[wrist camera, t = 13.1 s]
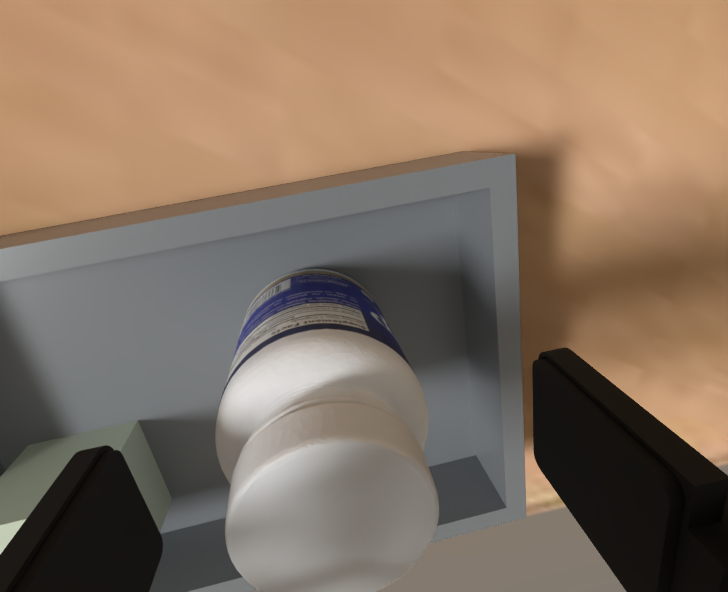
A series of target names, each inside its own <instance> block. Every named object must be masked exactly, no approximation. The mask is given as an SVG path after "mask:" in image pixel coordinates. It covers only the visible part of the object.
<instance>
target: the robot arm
mask: <svg viewBox="0 0 728 592" xmlns="http://www.w3.org/2000/svg"><path fill="white" fill-rule="evenodd" d="M532 368H533V438H534V456H535V459H536V462H537V464H538V466H539V468H540V470H541V471H542V472H543V474H544V475H545V477H546V478H547V479H548V481H549V482H550V484H551V485H552V487H553V488H554V489H555V491H556V492H557V494H558V495H559V496H560V498H561V499H562V501H563V502H564V504H565V505H566V506H567V508H568V509H569V510H570V512H571V513H572V515H573V516H574V518H575V519H576V521H577V522H578V523H579V525H580V526H581V527H582V529H583V530H584V532H585V533H586V534H587V536H588V538H589V539H590V540H591V542H592V543H593V545H594V546H595V547H596V549H597V550H598V552H599V553H600V555H601V556H602V557H603V559H604V560H605V562H606V563H607V564H608V565H609V567H610V568H611V570H612V572H613V573H614V574H615V576H616V577H617V579H618V580H619V581H620V583H621V584H622V586H623V587H624V588H625V590H626V591H627V592H728V476H727V475H726V474H725V473H724V472H722V471H721V470H720V469H719V468H718V467H716V466H715V465H714V464H713V463H711V462H710V461H709V460H708V459H706V458H705V457H704V456H703V455H701V454H700V453H699V452H698V451H696V450H695V449H694V448H693V447H691V446H690V445H689V444H688V443H686V442H685V441H684V440H683V439H681V438H680V437H679V436H678V435H676V434H675V433H674V432H673V431H671V430H670V429H669V428H668V427H666V426H665V425H664V424H663V423H661V422H660V421H659V420H658V419H656V418H655V417H654V416H653V415H651V414H650V413H649V412H648V411H646V410H645V409H644V408H643V407H641V406H640V405H639V404H638V403H636V402H635V401H634V400H633V399H631V398H630V397H629V396H628V395H626V394H625V393H624V392H623V391H621V390H620V389H619V388H618V387H616V386H615V385H614V384H613V383H611V382H610V381H609V380H608V379H606V378H605V377H604V376H603V375H601V374H600V373H599V372H598V371H596V370H595V369H594V368H593V367H591V366H590V365H589V364H588V363H586V362H585V361H584V360H583V359H581V358H580V357H579V356H578V355H576V354H575V353H574V352H573V351H571V350H570V349H568V348H560V349H555V350H551V351H546V352H542V353H540V355H539V359H538V360H535V361H534V362H533V367H532ZM162 552H163V540H162V536H161V534H160V532H159V530H158V528H157V525H156V523H155V521H154V519H153V517H152V515H151V513H150V511H149V509H148V507H147V505H146V502H145V500H144V498H143V496H142V494H141V492H140V490H139V488H138V486H137V484H136V481H135V479H134V477H133V475H132V473H131V471H130V469H129V467H128V465H127V463H126V461H125V458H124V456H123V454H122V453H121V452H120V451H119V450H114V449H113V448H112V447H110V446H108V445H105V446H100V447H95V448H90V449H86V450H81V451H78V452H76V453H75V454H74V455H73V457H72V458H71V459H70V461H69V462H68V463H67V465H66V466H65V467H64V469H63V470H62V471H61V473H60V474H59V476H58V477H57V478H56V480H55V481H54V482H53V484H52V485H51V486H50V488H49V489H48V491H47V492H46V493H45V495H44V496H43V497H42V499H41V500H40V501H39V503H38V504H37V505H36V507H35V508H34V510H33V511H32V512H31V514H30V515H29V516H28V518H27V519H26V520H25V522H24V523H23V524H22V526H21V527H20V529H19V530H18V531H17V533H16V534H15V535H14V537H13V538H12V539H11V541H10V542H9V543H8V545H7V546H6V548H5V549H4V550H3V552H2V553H1V554H0V592H149V591H150V588H151V585H152V582H153V579H154V576H155V573H156V570H157V568H158V565H159V562H160V559H161V556H162Z"/></svg>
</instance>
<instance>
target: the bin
mask: <svg viewBox="0 0 728 592" xmlns="http://www.w3.org/2000/svg"><path fill="white" fill-rule="evenodd" d="M305 269H324V270H330V271H335V272H338V273H341V274H344V275H346V276H348V277H350V278H351V279H353V280H355V281H356V282H358V283H359V284H360V285H361V286H363V287H364V288H365V289H366V290H367V291H368V292H369V294H370V295H371V296H372V297H373V299H374V300H375V302H376V304H377V305H378V307H379V309H380V311H381V313H382V314H383V316H384V318H385V320H386V322H387V323H388V325H389V327H390V329H391V331H392V333H393V335H394V336H395V338H396V340H397V342H398V344H399V346H400V347H401V349H402V351H403V353H404V355H405V357H406V359H407V360H408V362H409V364H410V366H411V367H412V369H413V371H414V373H415V375H416V377H417V379H418V381H419V383H420V386H421V388H422V390H423V394H424V397H425V400H426V404H427V410H428V433H427V438H426V443H425V447H424V450H423V453H424V455H425V459H426V462H427V465H428V467H429V470H430V473H431V476H432V478H433V481H434V484H435V487H436V489H437V494H438V500H439V519H438V524H437V528H436V532H435V534H434V537H433V539H432V541H431V543H433V542H437V541H440V540H444V539H448V538H452V537H455V536H459V535H463V534H467V533H470V532H474V531H478V530H482V529H485V528H489V527H493V526H497V525H500V524H504V523H508V522H512V521H515V520H519V519H523V518H526V487H525V454H524V420H523V387H522V354H521V320H520V287H519V253H518V220H517V187H516V154H513V153H487V152H457V153H452V154H446V155H441V156H435V157H430V158H424V159H419V160H413V161H408V162H402V163H397V164H391V165H386V166H381V167H375V168H370V169H364V170H359V171H353V172H348V173H342V174H337V175H331V176H326V177H320V178H315V179H309V180H304V181H298V182H293V183H287V184H282V185H277V186H271V187H266V188H260V189H255V190H249V191H244V192H238V193H233V194H227V195H222V196H216V197H211V198H205V199H200V200H194V201H189V202H184V203H178V204H173V205H167V206H162V207H156V208H151V209H145V210H140V211H134V212H129V213H123V214H118V215H112V216H107V217H101V218H96V219H91V220H85V221H80V222H74V223H69V224H63V225H58V226H52V227H47V228H41V229H36V230H30V231H25V232H19V233H14V234H8V235H3V236H0V477H1V475H2V474H3V473H4V472H5V471H6V470H7V469H8V468H9V466H10V465H11V464H12V463H13V462H14V461H15V460H16V459H17V457H18V456H19V455H20V454H21V453H22V452H23V451H24V450H25V448H26V447H27V446H28V445H31V444H35V443H40V442H44V441H48V440H53V439H57V438H62V437H66V436H71V435H75V434H79V433H84V432H88V431H93V430H97V429H102V428H106V427H111V426H115V425H119V424H124V423H128V422H133V421H137V420H138V422H139V424H140V426H141V429H142V431H143V433H144V436H145V438H146V440H147V442H148V445H149V447H150V449H151V452H152V454H153V456H154V459H155V461H156V463H157V465H158V468H159V470H160V472H161V475H162V477H163V479H164V481H165V484H166V486H167V488H168V491H169V493H170V495H171V498H172V499H171V502H170V505H169V508H168V511H167V514H166V517H165V520H164V522H163V525H162V528H161V531H160V534H161V536H162V540H163V552H162V556H161V559H160V562H159V565H158V568H157V570H156V573H155V576H154V579H153V582H152V585H151V588H150V591H149V592H249V591H252V590H256V588H254V587H253V586H252V585H251V584H249V583H248V582H247V581H246V580H245V579H244V578H243V577H242V575H241V574H240V573H239V572H238V571H237V570H236V568H235V566H234V564H233V563H232V561H231V559H230V556H229V553H228V551H227V546H226V539H225V522H226V514H227V506H228V499H229V492H230V486H231V485H230V483H229V481H228V480H227V478H226V476H225V474H224V473H223V471H222V469H221V466H220V463H219V459H218V456H217V450H216V442H215V431H216V421H217V416H218V411H219V405H220V401H221V397H222V394H223V391H224V388H225V385H226V382H227V378H228V375H229V372H230V368H231V365H232V362H233V358H234V355H235V351H236V347H237V344H238V340H239V336H240V332H241V328H242V325H243V321H244V318H245V316H246V313H247V310H248V308H249V306H250V305H251V303H252V302H253V300H254V299H255V297H256V296H257V295H258V294H259V293H260V292H261V291H262V290H263V289H264V288H265V287H266V286H267V285H269V284H270V283H271V282H273V281H274V280H276V279H278V278H279V277H281V276H284V275H286V274H288V273H291V272H295V271H299V270H305Z"/></svg>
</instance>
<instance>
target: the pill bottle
mask: <svg viewBox="0 0 728 592" xmlns="http://www.w3.org/2000/svg"><path fill="white" fill-rule="evenodd" d="M427 433H428V410H427V404H426V400H425V397H424V394H423V390H422V388H421V386H420V383H419V381H418V379H417V377H416V375H415V373H414V371H413V369H412V367H411V366H410V364H409V362H408V360H407V359H406V357H405V355H404V353H403V351H402V349H401V347H400V346H399V344H398V342H397V340H396V338H395V336H394V335H393V333H392V331H391V329H390V327H389V325H388V323H387V322H386V320H385V318H384V316H383V314H382V313H381V311H380V309H379V307H378V305H377V304H376V302H375V300H374V299H373V297H372V296H371V295H370V294H369V292H368V291H367V290H366V289H365V288H364V287H363V286H361V285H360V284H359V283H358V282H356V281H355V280H353V279H351V278H350V277H348V276H346V275H344V274H341V273H338V272H335V271H330V270H324V269H305V270H299V271H295V272H291V273H288V274H286V275H284V276H281V277H279V278H278V279H276V280H274V281H273V282H271V283H270V284H269V285H267V286H266V287H265V288H264V289H263V290H262V291H261V292H260V293H259V294H258V295H257V296H256V297H255V299H254V300H253V302H252V303H251V305H250V306H249V308H248V310H247V313H246V316H245V318H244V321H243V325H242V328H241V332H240V336H239V340H238V344H237V347H236V351H235V355H234V358H233V362H232V365H231V368H230V372H229V375H228V378H227V382H226V385H225V388H224V391H223V394H222V397H221V401H220V405H219V411H218V416H217V421H216V431H215V442H216V450H217V456H218V459H219V463H220V466H221V469H222V471H223V473H224V474H225V476H226V478H227V480H228V481H229V483H230V485H231V486H230V492H229V499H228V506H227V514H226V522H225V539H226V546H227V551H228V553H229V556H230V559H231V561H232V563H233V564H234V566H235V568H236V570H237V571H238V572H239V573H240V574H241V575H242V577H243V578H244V579H245V580H246V581H247V582H248V583H249V584H251V585H252V586H253V587H254V588H256V589H257V590H259V591H261V592H377V591H379V590H381V589H383V588H385V587H386V586H388V585H390V584H392V583H393V582H395V581H396V580H398V579H399V578H400V577H402V576H403V575H404V574H405V573H407V572H408V571H409V570H410V569H411V568H412V567H413V566H414V565H415V564H416V563H417V562H418V561H419V560H420V558H421V557H422V556H423V554H424V553H425V551H426V550H427V548H428V547H429V545H430V543H431V541H432V539H433V537H434V534H435V532H436V528H437V524H438V519H439V500H438V494H437V489H436V487H435V484H434V481H433V478H432V476H431V473H430V470H429V467H428V465H427V462H426V459H425V455H424V453H423V450H424V447H425V443H426V438H427Z"/></svg>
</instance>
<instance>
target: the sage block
mask: <svg viewBox="0 0 728 592" xmlns="http://www.w3.org/2000/svg"><path fill="white" fill-rule="evenodd" d="M105 445H108V446H110V447H112V448H113V449H114V450H119V451H120V452H121V453H122V454H123V456H124V458H125V461H126V463H127V465H128V467H129V469H130V471H131V473H132V475H133V477H134V479H135V481H136V484H137V486H138V488H139V490H140V492H141V494H142V496H143V498H144V500H145V502H146V505H147V507H148V509H149V511H150V513H151V515H152V517H153V519H154V521H155V523H156V525H157V528H158V530H159V532H160V531H161V528H162V525H163V522H164V520H165V517H166V514H167V511H168V508H169V505H170V502H171V499H172V498H171V495H170V493H169V491H168V488H167V486H166V484H165V481H164V479H163V477H162V475H161V472H160V470H159V468H158V465H157V463H156V461H155V459H154V456H153V454H152V452H151V449H150V447H149V445H148V442H147V440H146V438H145V436H144V433H143V431H142V429H141V426H140V424H139V422H138V420H137V421H133V422H128V423H124V424H119V425H115V426H111V427H106V428H102V429H97V430H93V431H88V432H84V433H79V434H75V435H71V436H66V437H62V438H57V439H53V440H48V441H44V442H40V443H35V444H31V445H28V446H27V447H26V448H25V450H24V451H23V452H22V453H21V454H20V455H19V456H18V457H17V459H16V460H15V461H14V462H13V463H12V464H11V465H10V466H9V468H8V469H7V470H6V471H5V472H4V473H3V474H2V475H1V477H0V554H1V553H2V552H3V550H4V549H5V548H6V546H7V545H8V543H9V542H10V541H11V539H12V538H13V537H14V535H15V534H16V533H17V531H18V530H19V529H20V527H21V526H22V524H23V523H24V522H25V520H26V519H27V518H28V516H29V515H30V514H31V512H32V511H33V510H34V508H35V507H36V505H37V504H38V503H39V501H40V500H41V499H42V497H43V496H44V495H45V493H46V492H47V491H48V489H49V488H50V486H51V485H52V484H53V482H54V481H55V480H56V478H57V477H58V476H59V474H60V473H61V471H62V470H63V469H64V467H65V466H66V465H67V463H68V462H69V461H70V459H71V458H72V457H73V455H74V454H75V453H76V452H78V451H81V450H86V449H90V448H95V447H100V446H105Z"/></svg>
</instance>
